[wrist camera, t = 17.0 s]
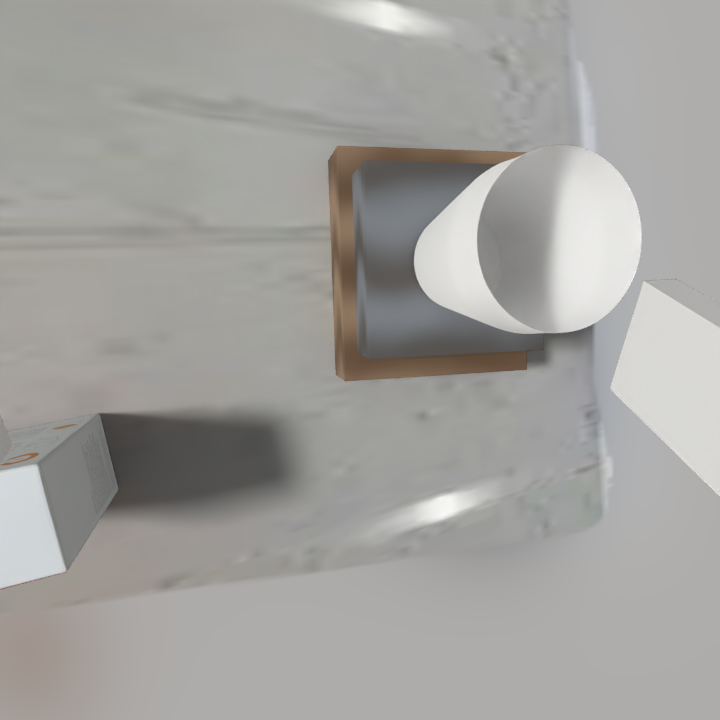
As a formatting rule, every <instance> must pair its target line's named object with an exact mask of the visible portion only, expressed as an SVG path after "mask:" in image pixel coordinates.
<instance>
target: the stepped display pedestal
mask: <svg viewBox="0 0 720 720" xmlns="http://www.w3.org/2000/svg"><path fill="white" fill-rule="evenodd" d="M525 153H528V152H499V151H471V150H442V149H414V148H385V147H357V146H337V147H336V149H335V151H334V152H333V154H332V155H331V157H330V159H329V160H328V167H329V195H330V223H331V251H332V279H333V307H334V335H335V362H336V375H337V376H339V377H340V378H342V379H343V380H344V381H356V380H372V379H388V378H403V377H419V376H435V375H450V374H466V373H482V372H497V371H513V370H527V351H528V350H543V333H537V334H519V333H513V332H508V331H504V330H501V329H498V328H495V327H493V326H490V325H488V324H485V323H483V322H480V321H478V320H475V319H473V318H470V317H468V316H465V315H463V314H460V313H458V312H455V311H453V310H450V309H448V308H445V307H443V306H441V305H439V304H437V303H435V302H434V301H433V300H431V299H430V298H429V297H428V296H427V295H426V294H425V292H424V291H423V290H422V288H421V286H420V284H419V282H418V280H417V277H416V273H415V268H414V254H415V248H416V245H417V242H418V240H419V237H420V236H421V234H422V232H423V231H424V229H425V228H426V227H427V226H428V225H429V224H430V223H431V222H432V221H433V220H434V219H435V218H436V217H437V216H438V215H439V214H440V213H441V212H442V211H443V210H444V209H445V208H446V207H447V206H448V205H449V204H450V203H451V202H452V201H453V200H454V199H455V198H456V197H458V196H459V195H460V194H461V193H462V192H463V191H464V190H465V189H466V188H467V187H468V186H469V185H470V184H471V183H472V182H473V181H474V180H475V179H476V178H478V177H479V176H480V175H481V174H483V173H484V172H486V171H487V170H489V169H490V168H492V167H493V166H495V165H497V164H499V163H502V162H505V161H507V160H511V159H514V158H516V157H519V156H521V155H523V154H525Z"/></svg>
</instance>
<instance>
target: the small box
mask: <svg viewBox="0 0 720 720" xmlns="http://www.w3.org/2000/svg"><path fill="white" fill-rule="evenodd" d="M8 434H9V437H10V439H11V441H12V446H11V448H10V449H9V451H8V453H7V454H6V456H5V458H4V459H3V461H2V463H1V464H0V590H1V589H5V588H9V587H13V586H16V585H20V584H24V583H27V582H31V581H35V580H39V579H42V578H46V577H50V576H54V575H58V574H61V573H66V572H67V570H68V569H69V567H70V566H71V564H72V563H73V561H74V559H75V558H76V556H77V555H78V553H79V552H80V550H81V549H82V547H83V545H84V544H85V542H86V541H87V539H88V537H89V536H90V534H91V533H92V531H93V529H94V528H95V526H96V525H97V523H98V522H99V520H100V518H101V517H102V515H103V514H104V512H105V511H106V509H107V507H108V506H109V504H110V502H111V501H112V499H113V498H114V496H115V495H116V493H117V491H118V485H117V481H116V477H115V473H114V469H113V465H112V461H111V457H110V453H109V449H108V445H107V441H106V437H105V433H104V429H103V425H102V421H101V417H100V414H94V415H88V416H83V417H78V418H73V419H68V420H63V421H58V422H54V423H49V424H44V425H39V426H35V427H30V428H25V429H20V430H16V431H11V432H8Z"/></svg>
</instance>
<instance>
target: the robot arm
mask: <svg viewBox="0 0 720 720" xmlns="http://www.w3.org/2000/svg"><path fill="white" fill-rule="evenodd" d="M610 389H611V390H612V391H613V392H614V393H615V394H616V395H617V396H618V397H619V398H620V399H621V400H622V401H623V402H624V403H625V404H626V405H627V406H628V407H629V408H630V409H631V410H632V411H633V412H634V413H635V414H636V415H637V416H638V417H639V418H640V419H641V420H642V421H643V422H644V423H645V424H646V425H647V426H648V427H649V428H650V429H651V430H652V431H653V432H654V433H655V434H657V435H658V436H659V437H660V438H661V439H662V440H663V441H664V442H665V443H666V444H667V445H668V446H669V447H670V448H671V449H672V450H673V451H674V452H675V453H676V454H677V455H678V456H679V457H680V458H681V459H682V460H683V461H684V462H685V463H686V464H687V465H688V466H689V467H690V468H691V469H692V470H693V471H694V472H695V473H696V474H697V475H698V476H700V477H701V479H702V480H703V481H704V482H705V483H707V484H708V485H709V486H710V487H711V488H712V489H713V490H714V491H715V492H716V493H717V494H718V495H719V496H720V304H719V303H718V302H716V301H714V300H712V299H711V298H709V297H707V296H705V295H704V294H702V293H700V292H698V291H696V290H695V289H693V288H691V287H689V286H688V285H686V284H684V283H682V282H680V281H679V280H677V279H667V280H649V281H643V284H642V288H641V291H640V294H639V297H638V301H637V304H636V307H635V310H634V313H633V316H632V320H631V323H630V326H629V329H628V333H627V336H626V339H625V342H624V346H623V349H622V352H621V355H620V358H619V361H618V365H617V368H616V371H615V374H614V378H613V381H612V384H611V387H610ZM11 446H12V441H11V439H10V437H9V434H8V432H7V430H6V427H5V425H4V423H3V420H2V418H1V416H0V464H1V463H2V461H3V459H4V458H5V456H6V454H7V453H8V451H9V449H10V448H11Z"/></svg>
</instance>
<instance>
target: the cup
mask: <svg viewBox="0 0 720 720" xmlns="http://www.w3.org/2000/svg"><path fill="white" fill-rule="evenodd" d="M641 245H642V229H641V220H640V215H639V211H638V207H637V204H636V202H635V199H634V196H633V194H632V192H631V190H630V188H629V186H628V185H627V183H626V181H625V180H624V179H623V177H622V176H621V175H620V173H619V172H618V171H617V170H616V169H615V168H614V167H613V166H612V165H611V164H610V163H609V162H608V161H606V160H605V159H603V158H602V157H601V156H599V155H597V154H595V153H594V152H591V151H589V150H587V149H584V148H581V147H577V146H572V145H551V146H545V147H541V148H538V149H535V150H532V151H530V152H528V153H525V154H523V155H521V156H519V157H516V158H514V159H511V160H507V161H505V162H502V163H499V164H497V165H495V166H493V167H492V168H490V169H489V170H487V171H486V172H484V173H483V174H481V175H480V176H479V177H478V178H476V179H475V180H474V181H473V182H472V183H471V184H470V185H469V186H468V187H467V188H466V189H465V190H464V191H463V192H462V193H461V194H460V195H459V196H458V197H456V198H455V199H454V200H453V201H452V202H451V203H450V204H449V205H448V206H447V207H446V208H445V209H444V210H443V211H442V212H441V213H440V214H439V215H438V216H437V217H436V218H435V219H434V220H433V221H432V222H431V223H430V224H429V225H428V226H427V227H426V228H425V229H424V231H423V232H422V234H421V236H420V237H419V240H418V242H417V245H416V248H415V254H414V268H415V273H416V277H417V280H418V282H419V284H420V286H421V288H422V290H423V291H424V292H425V294H426V295H427V296H428V297H429V298H430V299H431V300H433V301H434V302H435V303H437V304H439V305H441V306H443V307H445V308H448V309H450V310H453V311H455V312H458V313H460V314H463V315H465V316H468V317H470V318H473V319H475V320H478V321H480V322H483V323H485V324H488V325H490V326H493V327H495V328H498V329H501V330H504V331H508V332H513V333H519V334H537V333H566V332H572V331H577V330H580V329H583V328H586V327H588V326H590V325H592V324H594V323H596V322H598V321H599V320H601V319H602V318H603V317H605V316H606V315H607V314H608V313H609V312H611V311H612V310H613V309H614V308H615V307H616V306H617V304H618V303H619V302H620V301H621V299H622V298H623V297H624V295H625V294H626V292H627V291H628V289H629V287H630V285H631V283H632V281H633V279H634V276H635V274H636V271H637V267H638V263H639V259H640V254H641Z"/></svg>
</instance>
